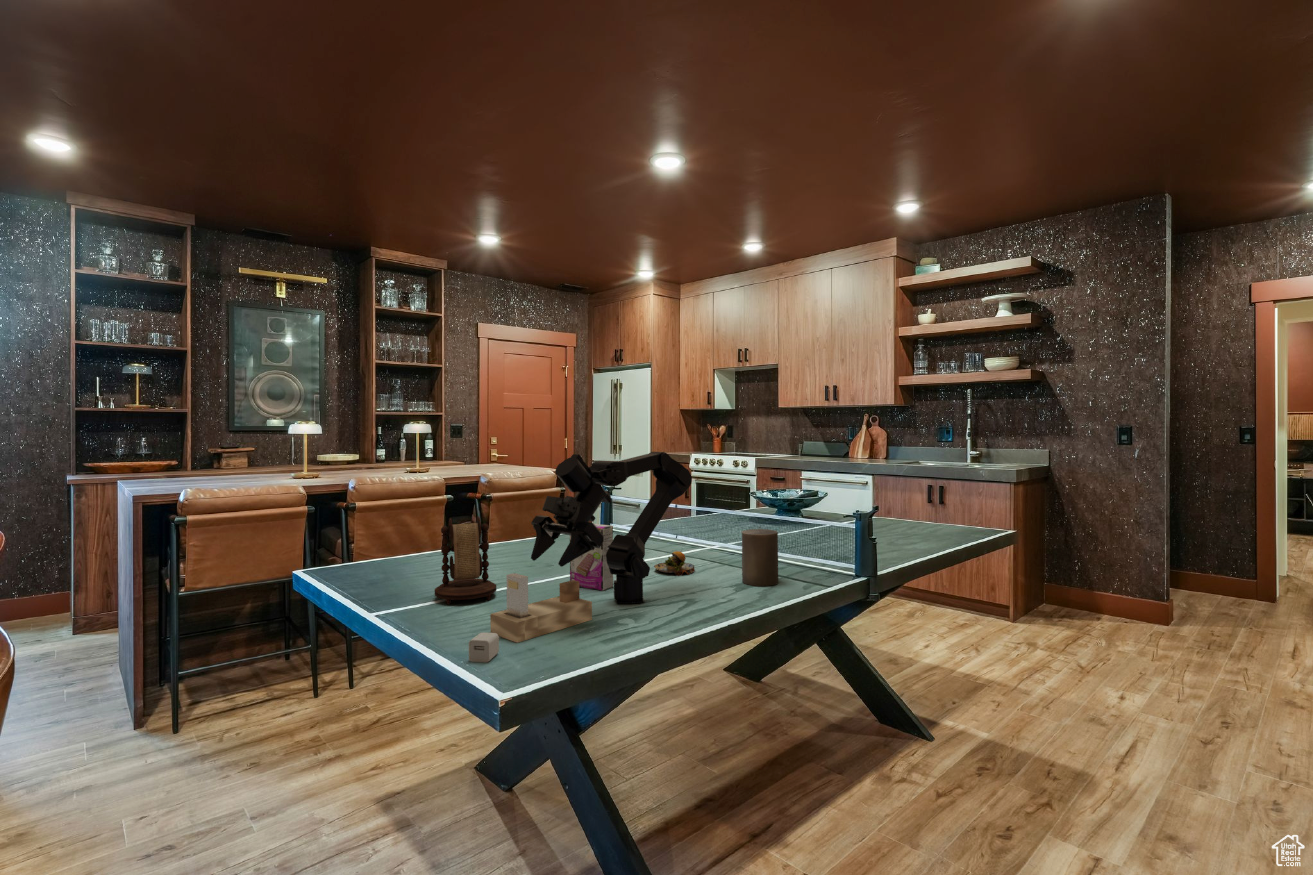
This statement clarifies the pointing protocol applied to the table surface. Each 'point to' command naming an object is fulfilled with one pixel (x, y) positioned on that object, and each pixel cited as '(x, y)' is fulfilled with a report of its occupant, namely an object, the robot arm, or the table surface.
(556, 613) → the hand plane
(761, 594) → the table surface
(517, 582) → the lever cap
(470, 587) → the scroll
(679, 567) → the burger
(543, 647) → the table surface
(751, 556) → the pillar candle
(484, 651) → the usb wall charger
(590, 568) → the candy bar box
